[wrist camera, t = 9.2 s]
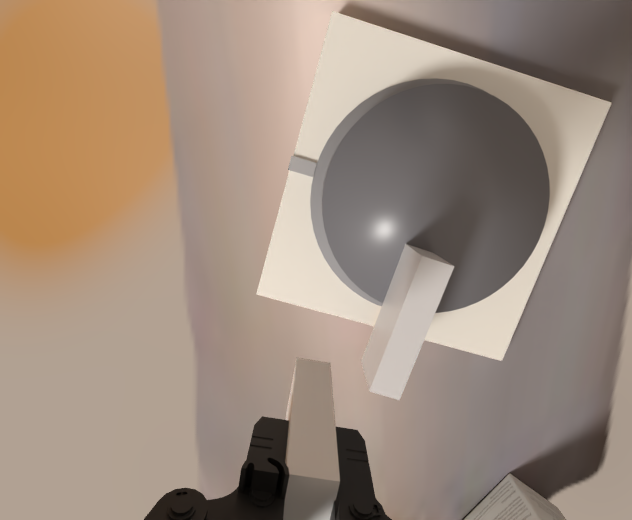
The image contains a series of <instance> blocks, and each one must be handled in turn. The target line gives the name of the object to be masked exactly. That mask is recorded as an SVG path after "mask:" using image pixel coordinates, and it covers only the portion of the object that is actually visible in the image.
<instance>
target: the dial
mask: <svg viewBox="0 0 632 520" xmlns="http://www.w3.org/2000/svg"><path fill="white" fill-rule="evenodd" d="M549 199H550V181H549V175H548V168H547V164H546V160H545V157H544V153H543V151H542V149H541V146H540V144H539V142H538V140H537V138H536V136H535V135H534V133H533V131H532V130H531V128H530V127H529V125H528V124H527V123H526V122H525V121H524V119H523V118H522V117H521V116H520V115H519V114H518V113H517V112H516V111H515V110H514V109H512V108H511V107H510V106H509V105H508V104H506V103H505V102H503V101H502V100H500V99H498V98H497V97H495V96H493V95H491V94H489V93H487V92H484V91H482V90H479V89H476V88H472V87H469V86H464V85H457V84H430V85H424V86H418V87H414V88H411V89H408V90H404V91H402V92H400V93H397V94H395V95H393V96H391V97H388V98H387V99H385V100H384V101H382V102H380V103H379V104H377V105H376V106H374V107H373V108H372V109H370V110H369V111H368V112H367V113H365V114H364V115H363V116H362V117H361V118H360V119H359V120H358V121H357V122H356V123H355V124H354V125H353V126H352V127H351V129H350V130H349V131H348V132H347V134H346V135H345V136H344V138H343V139H342V141H341V142H340V143H339V145H338V147H337V149H336V150H335V152H334V154H333V156H332V158H331V161H330V163H329V166H328V168H327V171H326V175H325V179H324V183H323V191H322V217H323V224H324V229H325V233H326V236H327V240H328V243H329V246H330V248H331V250H332V253H333V255H334V257H335V259H336V261H337V262H338V264H339V266H340V267H341V269H342V270H343V271H344V273H345V274H346V275H347V276H348V278H349V279H350V280H351V281H352V282H353V283H354V284H355V285H356V286H357V287H358V288H359V289H361V290H362V291H363V292H365V293H366V294H368V295H369V296H370V297H372V298H374V299H376V300H377V301H379V302H381V303H383V305H382V307H381V310H380V313H379V315H378V318H377V320H376V323H375V326H374V328H373V331H372V334H371V336H370V339H369V342H368V344H367V347H366V349H365V352H364V355H363V357H362V360H361V362H362V366H363V370H364V374H365V378H366V381H367V385H368V389H369V392H373V393H376V394H380V395H383V396H386V397H390V398H393V399H397V400H400V398H401V395H402V393H403V390H404V388H405V385H406V383H407V381H408V378H409V376H410V373H411V371H412V368H413V366H414V364H415V361H416V359H417V356H418V354H419V351H420V349H421V346H422V344H423V342H424V339H425V337H426V334H427V332H428V329H429V327H430V325H431V322H432V320H433V317H434V315H435V313H441V312H448V311H453V310H457V309H461V308H465V307H467V306H470V305H472V304H475V303H477V302H479V301H481V300H483V299H485V298H487V297H488V296H490V295H492V294H493V293H495V292H496V291H498V290H499V289H500V288H502V287H503V286H504V285H505V284H506V283H508V282H509V281H510V280H511V279H512V278H513V277H514V276H515V275H516V274H517V273H518V272H519V270H520V269H521V268H522V267H523V266H524V264H525V263H526V262H527V260H528V259H529V257H530V256H531V254H532V253H533V251H534V249H535V247H536V245H537V243H538V241H539V239H540V236H541V234H542V231H543V229H544V226H545V222H546V218H547V214H548V207H549Z"/></svg>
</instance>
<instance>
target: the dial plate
mask: <svg viewBox="0 0 632 520" xmlns="http://www.w3.org/2000/svg"><path fill="white" fill-rule="evenodd" d="M430 84H457V85H464V86H469V87H472V88H476V89H479V90H482V91H484V92H487V93H489V94H491V95H493V96H495V97H497V98H498V99H500V100H502V101H503V102H505V103H506V104H508V105H509V106H510V107H511V108H512V109H514V110H515V111H516V112H517V113H518V114H519V115H520V116H521V117H522V118H523V119H524V121H525V122H526V123H527V124H528V125H529V127H530V128H531V130H532V131H533V133H534V135H535V136H536V138H537V140H538V142H539V144H540V146H541V149H542V151H543V153H544V157H545V160H546V164H547V168H548V175H549V181H550V199H549V207H548V214H547V218H546V222H545V226H544V229H543V231H542V234H541V236H540V239H539V241H538V243H537V245H536V247H535V249H534V251H533V253H532V254H531V256H530V257H529V259H528V260H527V262H526V263H525V264H524V266H523V267H522V268H521V269H520V270H519V272H518V273H517V274H516V275H515V276H514V277H513V278H512V279H511V280H510V281H509V282H508V283H506V284H505V285H504V286H503V287H502V288H500V289H499V290H498V291H496V292H495V293H493V294H492V295H490V296H488V297H487V298H485V299H483V300H481V301H479V302H477V303H475V304H472V305H470V306H467V307H465V308H461V309H457V310H453V311H448V312H441V313H435V315H434V317H433V320H432V322H431V325H430V327H429V329H428V332H427V334H426V337H425V339H424V340H426V341H430V342H434V343H437V344H441V345H445V346H449V347H452V348H456V349H460V350H463V351H467V352H471V353H474V354H478V355H482V356H485V357H489V358H493V359H496V360H500V361H502V359H503V357H504V355H505V352H506V350H507V348H508V345H509V343H510V340H511V338H512V336H513V333H514V331H515V329H516V326H517V324H518V322H519V319H520V317H521V315H522V312H523V310H524V308H525V305H526V303H527V301H528V298H529V296H530V293H531V291H532V289H533V286H534V284H535V282H536V279H537V277H538V275H539V272H540V270H541V268H542V265H543V263H544V261H545V258H546V256H547V254H548V251H549V249H550V247H551V244H552V242H553V239H554V237H555V235H556V232H557V230H558V228H559V225H560V223H561V221H562V218H563V216H564V214H565V211H566V209H567V207H568V204H569V202H570V200H571V197H572V195H573V192H574V190H575V188H576V185H577V183H578V181H579V178H580V176H581V174H582V171H583V169H584V167H585V164H586V162H587V160H588V157H589V155H590V153H591V150H592V148H593V145H594V143H595V141H596V138H597V136H598V134H599V131H600V129H601V127H602V124H603V122H604V120H605V117H606V115H607V113H608V110H609V108H610V106H611V102H608V101H605V100H602V99H599V98H596V97H593V96H590V95H587V94H584V93H581V92H578V91H575V90H571V89H568V88H565V87H562V86H559V85H556V84H553V83H550V82H547V81H544V80H541V79H538V78H535V77H532V76H529V75H526V74H523V73H520V72H517V71H514V70H511V69H508V68H504V67H501V66H498V65H495V64H492V63H489V62H486V61H483V60H480V59H477V58H474V57H471V56H468V55H465V54H462V53H459V52H456V51H453V50H450V49H447V48H444V47H441V46H438V45H434V44H431V43H428V42H425V41H422V40H419V39H416V38H413V37H410V36H407V35H404V34H401V33H398V32H395V31H392V30H389V29H386V28H383V27H380V26H377V25H374V24H371V23H367V22H364V21H361V20H358V19H355V18H352V17H349V16H346V15H343V14H340V13H337V12H334V11H332V14H331V18H330V22H329V25H328V29H327V33H326V37H325V40H324V44H323V48H322V51H321V55H320V59H319V63H318V66H317V70H316V74H315V78H314V81H313V85H312V89H311V92H310V96H309V100H308V104H307V107H306V111H305V115H304V119H303V122H302V126H301V130H300V133H299V137H298V141H297V145H296V148H295V152H294V156H292V157H291V161H290V164H289V168H288V170H290V171H289V175H288V178H287V182H286V186H285V189H284V193H283V197H282V201H281V204H280V208H279V212H278V216H277V219H276V223H275V227H274V230H273V234H272V238H271V242H270V245H269V249H268V253H267V257H266V260H265V264H264V268H263V271H262V275H261V279H260V283H259V286H258V290H257V295H261V296H264V297H268V298H272V299H275V300H279V301H283V302H287V303H290V304H294V305H298V306H301V307H305V308H309V309H312V310H316V311H320V312H323V313H327V314H331V315H334V316H338V317H342V318H345V319H349V320H353V321H356V322H360V323H364V324H368V325H371V326H375V323H376V320H377V318H378V315H379V313H380V310H381V307H382V305H383V303H381V302H379V301H377V300H376V299H374V298H372V297H370V296H369V295H368V294H366V293H365V292H363V291H362V290H361V289H359V288H358V287H357V286H356V285H355V284H354V283H353V282H352V281H351V280H350V279H349V278H348V276H347V275H346V274H345V273H344V271H343V270H342V269H341V267H340V266H339V264H338V262H337V261H336V259H335V257H334V255H333V253H332V250H331V248H330V246H329V243H328V240H327V236H326V233H325V229H324V224H323V217H322V191H323V183H324V179H325V175H326V171H327V168H328V166H329V163H330V161H331V158H332V156H333V154H334V152H335V150H336V149H337V147H338V145H339V143H340V142H341V141H342V139H343V138H344V136H345V135H346V134H347V132H348V131H349V130H350V129H351V127H352V126H353V125H354V124H355V123H356V122H357V121H358V120H359V119H360V118H361V117H362V116H363V115H364V114H365V113H367V112H368V111H369V110H370V109H372V108H373V107H374V106H376V105H377V104H379V103H380V102H382V101H384V100H385V99H387V98H388V97H391V96H393V95H395V94H397V93H400V92H402V91H404V90H408V89H411V88H414V87H418V86H424V85H430Z"/></svg>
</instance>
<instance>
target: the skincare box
mask: <svg viewBox="0 0 632 520" xmlns="http://www.w3.org/2000/svg"><path fill="white" fill-rule="evenodd" d="M464 520H566V519H565V517H564V516H563V515H562V513H561V512H560V511H559V509H558V508H557V507H556V506H554V505H553V504H552V503H550V502H549V501H548V500H546V499H545V498H543V497H542V496H541V495H539V494H538V493H536V492H535V491H534V490H532V489H531V488H530V487H528V486H527V485H525V484H524V483H522V482H521V481H520V480H518V479H517V478H516V477H514V476H513V475H512V474H510V473H509V474H508V475H507V476H506V477H505V478H504V479H503V480H502V481H501V482H500V483H499V484H498V485H497V486H496V487H495V488H494V489H493V490H492V491H491V492H490V493H489V494H488V495H487V497H486V498H485V499H484V500H483V501H482V502H481V503H480V504H479V505H478V506H477V507H476V508H475V509H474V510H473V511H472V512H471V513H470V514H469V515H468V516H467V517H466V518H465V519H464Z"/></svg>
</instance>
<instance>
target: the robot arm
mask: <svg viewBox="0 0 632 520" xmlns="http://www.w3.org/2000/svg"><path fill="white" fill-rule="evenodd" d="M144 520H392V519H390V518H389V517H388V516H387V515H385V512H384V510H383V507H382V505H381V504H380V503H379V502H378V501H377V500H376V498H375V494H374V488H373V483H372V477H371V472H370V467H369V463H368V456H367V450H366V445H365V440H364V439H363V438H362V436H361V435H360V433H359V432H358V430H353V429H347V428H340V427H336V426H335V414H334V402H333V390H332V378H331V366H330V363H327V362H321V361H315V360H309V359H303V358H296V364H295V369H294V375H293V380H292V386H291V391H290V397H289V402H288V407H287V414H286V420H282V419H275V418H268V417H261V419H260V420H259V421H258V422H257V423H256V424H255V425H254V430H253V434H252V438H251V442H250V447H249V451H248V455H247V460H246V461H245V462H244V464H243V466H242V468H241V475H240V481H239V486H238V488H237V489H236V490H235V491H234V492H232V493H231V494H229V495H227V496H225V497H222V498H218V499H213V500H206V498H205V497H204V495H203V494H202V493H200V492H198V491H197V490H195V489H189V488H181V489H175V490H173V491H171V492H169V493H166V494H165V495H164V496H163V497H162V498H161V499H160V500H159V501H158V502H157V503H156V505H155V506H154V507H153V508H152V510H151V511H150V512H149V514H148V515H147V516H146V517H145V519H144Z"/></svg>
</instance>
